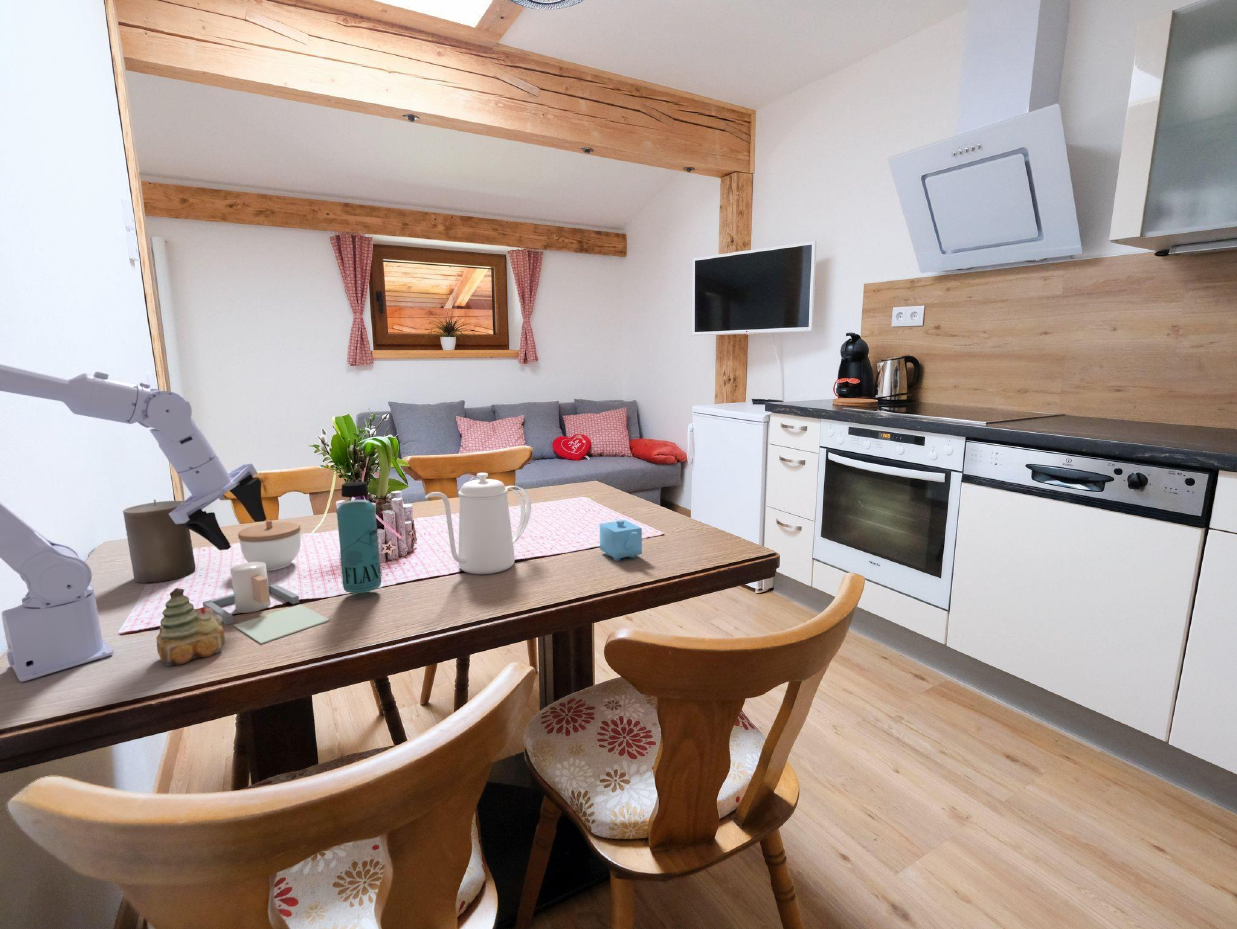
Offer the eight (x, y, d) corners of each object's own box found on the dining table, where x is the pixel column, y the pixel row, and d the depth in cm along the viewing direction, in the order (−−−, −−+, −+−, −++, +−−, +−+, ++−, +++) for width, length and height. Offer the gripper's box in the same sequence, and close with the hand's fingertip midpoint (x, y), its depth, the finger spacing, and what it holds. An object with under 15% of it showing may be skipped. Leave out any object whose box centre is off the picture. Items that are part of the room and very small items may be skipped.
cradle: (226, 624, 94) (225, 617, 94) (203, 609, 100) (202, 602, 100) (299, 602, 102) (298, 595, 102) (273, 589, 109) (273, 582, 108)
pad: (261, 644, 87) (260, 642, 87) (234, 626, 93) (233, 624, 93) (329, 620, 95) (329, 619, 95) (300, 605, 101) (300, 604, 101)
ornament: (219, 638, 90) (210, 574, 88) (233, 650, 86) (224, 583, 84) (153, 658, 84) (143, 590, 82) (165, 672, 80) (154, 601, 78)
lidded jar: (249, 561, 124) (243, 517, 123) (307, 554, 128) (302, 511, 126) (237, 578, 114) (230, 530, 113) (300, 571, 118) (295, 524, 116)
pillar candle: (206, 570, 119) (196, 495, 117) (152, 586, 111) (139, 506, 108) (177, 564, 123) (166, 492, 121) (122, 579, 115) (109, 502, 112)
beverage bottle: (340, 603, 102) (328, 487, 98) (346, 589, 108) (336, 480, 105) (381, 599, 103) (371, 485, 100) (385, 585, 110) (376, 477, 106)
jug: (230, 607, 101) (225, 567, 99) (263, 598, 104) (258, 559, 103) (250, 620, 96) (245, 578, 95) (283, 609, 100) (278, 569, 98)
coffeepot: (413, 580, 112) (406, 481, 109) (513, 546, 132) (509, 461, 129) (450, 592, 106) (443, 488, 103) (549, 555, 125) (546, 466, 122)
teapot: (650, 563, 120) (650, 526, 119) (623, 568, 117) (622, 531, 116) (622, 547, 131) (622, 513, 129) (597, 551, 128) (596, 517, 127)
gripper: (173, 485, 86) (225, 561, 92) (251, 438, 98) (292, 507, 104) (140, 490, 88) (193, 563, 94) (220, 442, 100) (263, 510, 106)
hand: (243, 534), depth 99 cm, fingers open, 7 cm apart
